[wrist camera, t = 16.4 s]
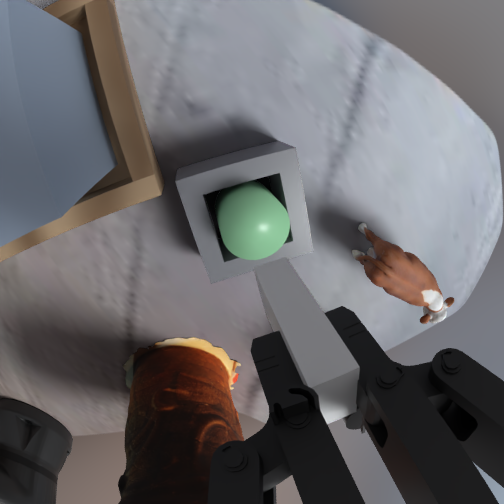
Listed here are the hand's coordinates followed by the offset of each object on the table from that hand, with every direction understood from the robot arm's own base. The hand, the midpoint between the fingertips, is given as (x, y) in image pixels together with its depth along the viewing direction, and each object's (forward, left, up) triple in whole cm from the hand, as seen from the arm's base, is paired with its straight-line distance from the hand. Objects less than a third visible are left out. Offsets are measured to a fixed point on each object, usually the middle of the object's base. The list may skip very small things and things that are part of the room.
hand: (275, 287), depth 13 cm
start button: (+1, 0, -11) cm, 11 cm away
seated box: (-11, +12, -12) cm, 20 cm away
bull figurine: (+14, -10, -12) cm, 21 cm away
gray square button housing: (+1, 0, -12) cm, 12 cm away
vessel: (-11, -18, -12) cm, 24 cm away
